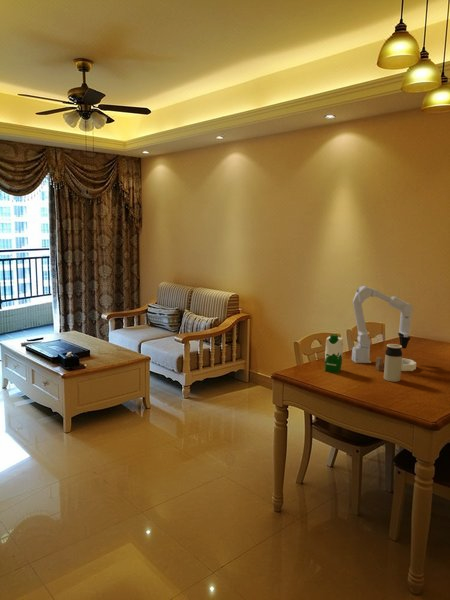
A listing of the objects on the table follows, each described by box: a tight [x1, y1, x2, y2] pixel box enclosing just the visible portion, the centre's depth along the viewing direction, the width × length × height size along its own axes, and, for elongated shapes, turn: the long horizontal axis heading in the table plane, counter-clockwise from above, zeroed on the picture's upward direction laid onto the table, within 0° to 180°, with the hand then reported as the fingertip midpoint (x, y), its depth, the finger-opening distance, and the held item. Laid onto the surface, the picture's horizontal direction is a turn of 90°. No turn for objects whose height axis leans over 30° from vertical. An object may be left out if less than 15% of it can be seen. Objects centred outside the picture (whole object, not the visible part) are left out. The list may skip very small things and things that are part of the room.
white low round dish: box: [401, 357, 417, 372], centre depth 262 cm, size 14×14×4 cm
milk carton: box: [324, 334, 344, 374], centre depth 252 cm, size 9×9×20 cm
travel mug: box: [383, 343, 403, 383], centre depth 238 cm, size 8×8×18 cm
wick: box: [375, 356, 384, 372], centre depth 255 cm, size 4×2×7 cm, turn 4°
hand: (403, 346), depth 269 cm, fingers open, 7 cm apart
